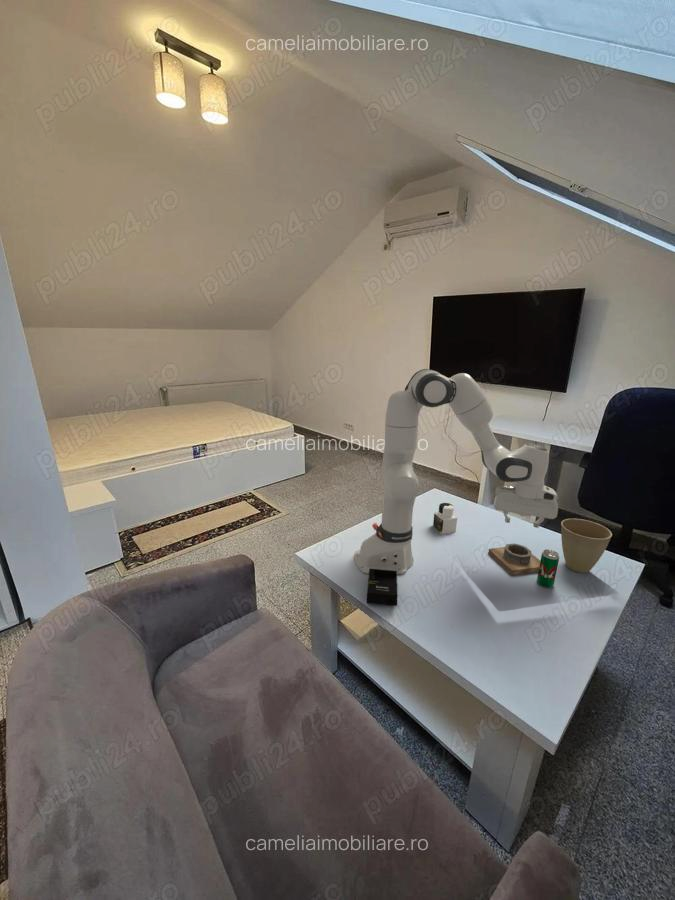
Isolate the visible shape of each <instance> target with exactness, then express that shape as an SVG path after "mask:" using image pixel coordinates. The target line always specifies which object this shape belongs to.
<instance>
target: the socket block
mask: <svg viewBox="0 0 675 900" xmlns="http://www.w3.org/2000/svg"><path fill="white" fill-rule="evenodd" d="M487 552H488V555H489V556H491V557H492V558H493V559H494V560H495V561H496V563H498V564H499V565H500V566H501V567H502V568H503V569H504V570H505V571H506V572H507V573H508V574H509V575H510V576H515V575H524V574H532V573H538V571H539V566H540V561H541V559H539V558H538V557H536V555H534V554H533V553H532V550H531V549H529V548H528V547H527V546H525V545H522V544H518V543H506V545H505V546H502V547H501V546H500V547H493V548H488V551H487Z"/></svg>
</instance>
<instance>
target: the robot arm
mask: <svg viewBox="0 0 675 900" xmlns="http://www.w3.org/2000/svg"><path fill="white" fill-rule="evenodd" d="M444 405H449V407H450V408H451V410H452V411H453V413H454V415H455V416H456V418H457V419H458V420H459V422H460V423H461V425H462V426H463V427H464V428H465V429H466V430H468V431H469V432H470V434H471V435H472V436H473V438H474V439H475V441H476V443H477V445H478V447H479V448H480V451H481V461H482V463H483V466H484V467H485V468H486V469H488V470H489V471H490V472H491V473H492V474H494V476H496V477H497V478H498V479H499V480H500V481H503V482H505V483H514V486H510V485H509V486H507V485H500V486H497V487H496V488H495V490H494V495H495V497H494V501H493V507H494V509H495V510H496V511H500V512H503V515H504V518H505V519H504V522H505V523H507V524H508V523H509V524H510V523H511V517H510V516H508V514H509V513H512V514H513V513H514V514H517V515H518V514H519V515H526V516H531V517H538V519H537V520H534V521H533V523H532V525H533V526H532V527H533V528H537V529H539V528H540V524H541V523H543V522H544V521H545V519H550V520H555V519H556V518H557V517H558V513H559V504H558V501H557V500H558V494H557V492H556V491H555V490H554V489H553V488H551V487H549V486H547V485H545V476H546V474H547V473H548V469H549V461H550V452H549V451H548V449H547V448H545V447H544V446H542V445H538V444H535V443H531V442H529V443H528V442H527V443H525V444H524V445H523V446H521V447H519V448H517V449H514V450H509V449H508V448H507V447H506V446H505V445H503V444H502V443H500V442H498V440H497V438H496V437H495V435H494V433H493V430H492V429H491V427H490V425H489V424H490V423H491V421H492V420H493V416H494V412H493V408H492V406H491V403H490V401H489V399H488V397H487V396H486V394H485V393H484V391H483V389H482V388H481V386H479V384H478V383H477V381H475V379H474V378H473V377H472V376H471V375H470V374H468V373H465V372H461V373H460V372H459V373H457V374H454V375H452V376H451V377H447V376H445V375H443V374H441V373H440V372H438V371H436V370H433V369H428V368H424V369H420V370H418V371H416V372H415V373H414V374H412V376H411V378H410V380H409V381H408V383H407V384H406V386H405V388H404V390H399V391H396V392H393V393H392V394H391V395H390V396H389V399H388V402H387V406H386V411H385V419H384V420H385V422H384V424H385V425H384V430H385V431H384V445H383V446H384V447H383V453H382V460H381V461H382V462H381V475H382V479H383V482H384V488H385V489H384V498H383V503H382V506H381V507H382V508H381V523H380V524H379V525H378V524H377V522H375V523H373V524H372V526H371V527H372V528H373V530H374V531H375V533H374V534H372V535H371V536H369V537H368V538H366V539H364V540H363V541H362V543H361V545H360V549H357V550H356V551H354V555H353V557H354V562H355V566H356V567H357V568H358V570H359V571H360V572H361V573H363V574H366V575H367V574H368V575H369V569H381V570H392V571H397V575H404V574H405V575H406V573H407V571H408V569H409V568H410V567H412V566H413V564H414V556H413V551H412V540H413V533H414V532H413V526H412V524H413V513H414V511H413V510H414V506H415V502H416V498H417V496H418V494H419V490H420V484H419V478H418V475H417V474H416V473H415V471H414V467H413V461H414V455H415V452H416V449H417V446H418V433H419V415H420V411H421V409H422V408H423V406H424V407H427V408H436V407H440V406H444Z"/></svg>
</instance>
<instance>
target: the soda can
mask: <svg viewBox="0 0 675 900" xmlns="http://www.w3.org/2000/svg"><path fill="white" fill-rule="evenodd" d="M559 562H560V555H559V552H557V551H555V550H553V549H548V548H547V549H544V550H543V551H542V552H541V556H540V566H539V571H538V572H537V578H536V581H537V583H538V584H539V586H541V587H544V588H553V587H554V586H555V580H556V576H557V572H558V566H559Z"/></svg>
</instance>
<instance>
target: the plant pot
mask: <svg viewBox="0 0 675 900" xmlns="http://www.w3.org/2000/svg"><path fill="white" fill-rule="evenodd" d="M560 524H561V525H560V527H561V528H560V529H561V530H560V531H561V532H560V533H561V536H560V537H561V545H562V546H561V547H562V553H563V558H564V562H565V566H567V568H568V569H570V570H571V571H574V572H576V573H580V574H581V573H582V574H586V573H589V572H590V571H591V570H592V569H593V568H594V567H595V565H597V563H598V562H599V560H600V559H601V557H602V556H603V554H604V552H605V551H606V549H607V547H608V545H609V543H610V541H611V538H612V536H613V533H612V531H611V530H610V529H608V528H607V527H605V525H602V524H599V523H597V522H594V521H591V520H586V519H581V518H566V519H563V520H562V521H561V522H560Z"/></svg>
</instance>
